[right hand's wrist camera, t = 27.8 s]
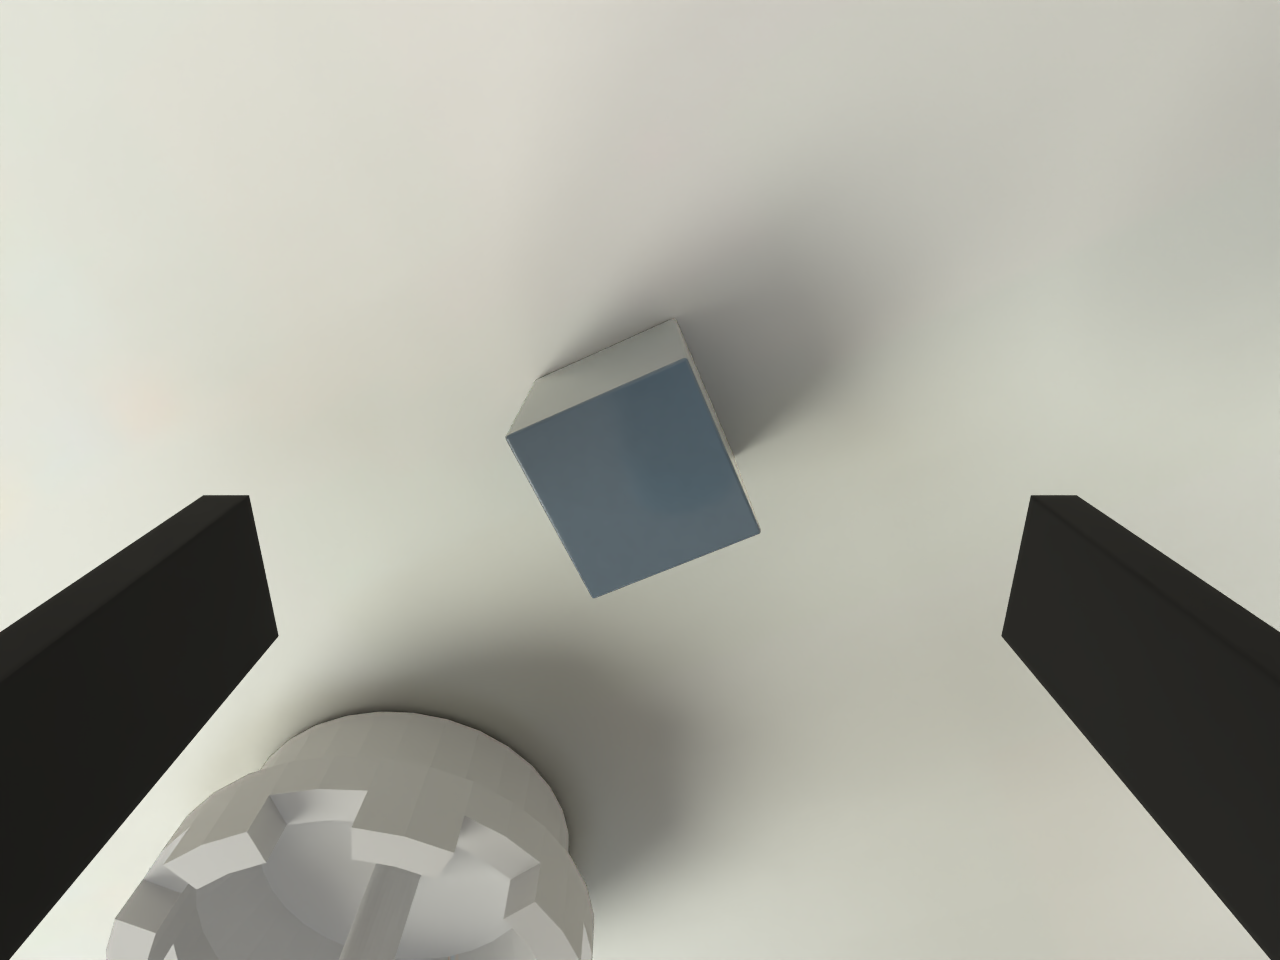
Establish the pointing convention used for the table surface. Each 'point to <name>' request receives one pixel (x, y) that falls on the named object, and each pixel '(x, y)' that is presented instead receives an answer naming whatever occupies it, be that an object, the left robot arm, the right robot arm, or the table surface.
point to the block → (632, 461)
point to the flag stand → (368, 856)
